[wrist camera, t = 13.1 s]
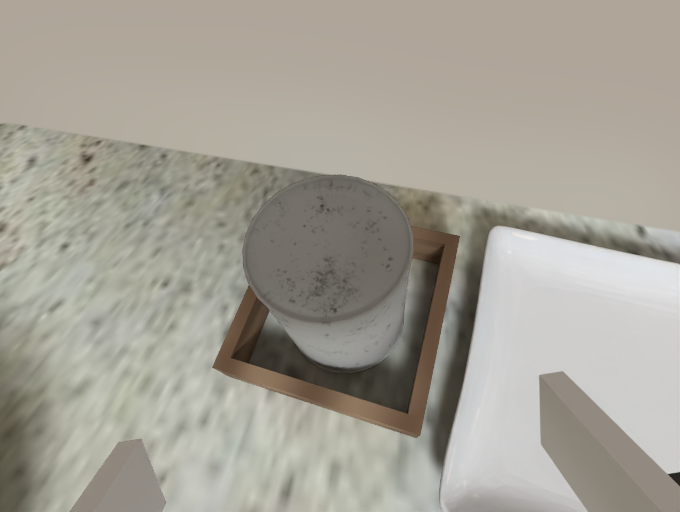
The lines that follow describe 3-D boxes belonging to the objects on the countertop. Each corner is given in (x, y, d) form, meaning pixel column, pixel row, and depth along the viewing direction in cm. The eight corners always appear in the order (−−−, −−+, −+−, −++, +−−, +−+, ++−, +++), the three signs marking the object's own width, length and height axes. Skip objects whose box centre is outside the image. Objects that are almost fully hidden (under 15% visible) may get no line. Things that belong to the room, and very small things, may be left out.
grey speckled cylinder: (267, 330, 32) (207, 265, 21) (333, 246, 35) (310, 152, 24) (361, 399, 29) (347, 363, 18) (425, 299, 32) (446, 218, 21)
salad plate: (825, 662, 20) (901, 697, 17) (429, 509, 25) (435, 516, 22) (765, 303, 29) (809, 285, 26) (479, 242, 34) (489, 221, 31)
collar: (229, 376, 31) (212, 367, 28) (294, 222, 37) (286, 201, 34) (416, 438, 27) (420, 435, 24) (453, 256, 33) (459, 236, 30)
